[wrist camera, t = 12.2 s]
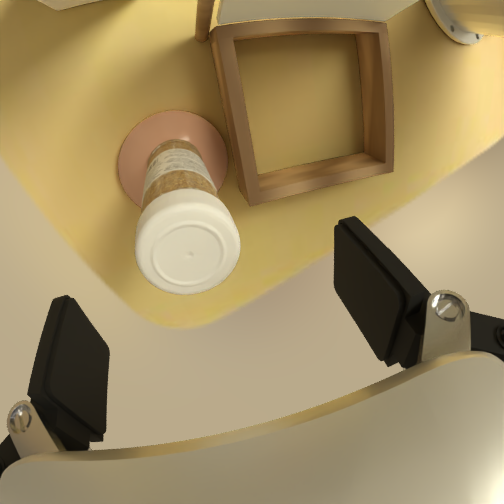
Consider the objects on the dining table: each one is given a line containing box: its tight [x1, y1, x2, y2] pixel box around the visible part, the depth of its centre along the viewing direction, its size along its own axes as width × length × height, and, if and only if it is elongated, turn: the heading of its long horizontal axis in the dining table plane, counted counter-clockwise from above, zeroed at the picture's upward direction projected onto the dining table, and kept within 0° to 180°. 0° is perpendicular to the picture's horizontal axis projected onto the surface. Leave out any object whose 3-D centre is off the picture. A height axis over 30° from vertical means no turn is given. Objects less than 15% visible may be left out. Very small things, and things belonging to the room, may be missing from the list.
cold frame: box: [195, 0, 394, 206], centre depth 16 cm, size 15×19×14 cm
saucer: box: [118, 110, 228, 208], centre depth 23 cm, size 9×9×1 cm
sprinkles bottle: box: [135, 139, 240, 295], centre depth 18 cm, size 5×5×14 cm
